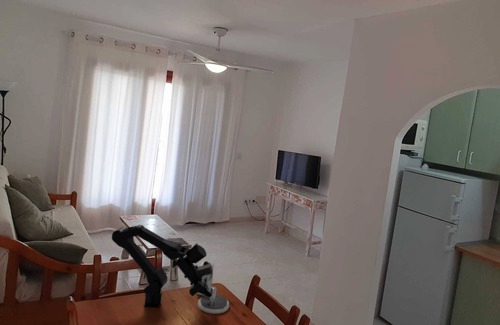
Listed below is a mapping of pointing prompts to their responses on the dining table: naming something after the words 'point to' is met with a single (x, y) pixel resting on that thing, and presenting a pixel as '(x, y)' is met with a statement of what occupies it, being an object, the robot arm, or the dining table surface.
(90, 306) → the dining table surface
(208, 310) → the base
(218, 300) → the dial
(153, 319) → the dining table surface
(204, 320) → the dining table surface
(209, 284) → the syrup box
